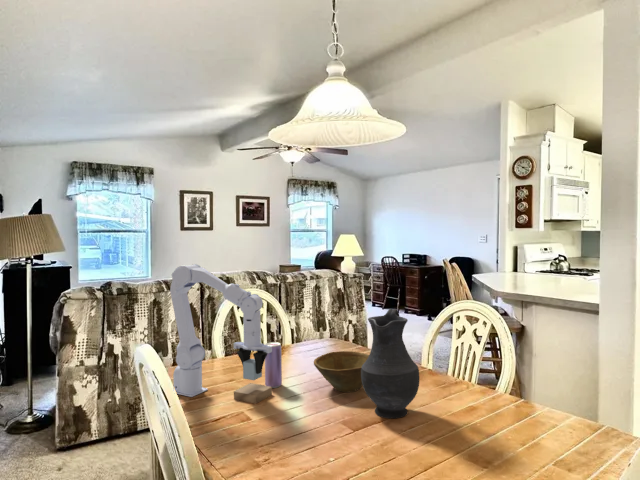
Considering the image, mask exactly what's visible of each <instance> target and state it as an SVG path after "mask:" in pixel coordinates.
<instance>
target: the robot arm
mask: <svg viewBox="0 0 640 480" xmlns="http://www.w3.org/2000/svg"><path fill="white" fill-rule="evenodd" d="M171 278H172V279H171V280H172V281H171V284H170V289H169V292H170V299H171V302H172V307H173V313H174V318H175V322H176V323H175V324H176V328H177V332H178V333H177V334H178V338H179V342H178V344H177V346H176V348H175V349H176V356H175V362H176V364H177V366H176V367H175V368H174V371H173V376H172V377H173V380H172V381H173V388H174V387H175V390H176V392H177V394H176V395H180V396H181V395H182V396H184V397H189V398H192V397H196V396H197V395H200V394H202V393H203V392H206V391H208V390H209V389H208V388H207V387H203V360H204V359H205V356H206V350H205V348H204V347H203V345H202V343H201V342H202V341H201V339H200V338H199V337H197V336H196V331H195V325H194V320H193V315H192V310H191V305H190V300H189V296H188V293H189V291H190V290H191V289H192V287H193V286H194V285H196V283H197V284H198V283H203V284H204V285H207V286H209V287H211V288H213V289H215V290H217V291H219V292H220V293H222V296H223V298H224V299H225V300H227V301H228V302H230V303H232V304H234V305H235V306H237V307H238V308H240V311H241V312H242V314H243V317H242V318H243V319H242V321H243V326H242V327H243V328H242V329H243V341H236V342H233V349H235V350H237V349H238V351H236V354H237V356H238V357H239V359H240V362H241V364H242V366H243V362H244V361H247V360H249V359H251V355H253V359H255V364H256V374H259V373H261V372H262V373H263V366H264V364H265V358H266V356H267V354H268V353H271V352H272V346H268V345H265V344H266V343H262V331H261V330H262V329H261V328H262V326H261V323H262V322H261V319H262V317H261V309H262V307H263V303H264V301H263V299H262V297H261V296H260V295H259V294H258V293H253V294H252V292H251V291H248V290H245V289H243V288H242V287H240V286H241V285H240V284H238V283H229V284H228V283H227V282H225V281H224V280H222V279H220V278H219V277H218V276H216V275H215V274H213V273H211V272H210V271H208V269H207V268H205V267H203V266H201V265H199V264H197V263H194V264H193V263H192V264H189V265H179V266H177V267H176V268H175V269H174V270H173V272H172V273H171ZM252 351H253V352H254V353H253V354H252Z"/></svg>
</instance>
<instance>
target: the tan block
mask: <svg viewBox="0 0 640 480" xmlns="http://www.w3.org/2000/svg"><path fill="white" fill-rule="evenodd" d="M272 395H273V388H272V387H269V386H266V385H265V384H264V385H263V384H257V383H253V382H252V383H251V382H249V383H248V384H246V385H244V386H242V387H239V388H238V389H236V390H234V391H233V399H234V400H237V401H240V402H241V401H242V402H246V403H251V404H258V403H260V402H262V401H264V400H265V399H266V398H268V397H270V396H272Z"/></svg>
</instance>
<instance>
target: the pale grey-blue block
mask: <svg viewBox="0 0 640 480" xmlns="http://www.w3.org/2000/svg"><path fill="white" fill-rule="evenodd" d="M242 372H243V373H242V379H245V380H249V381H256V380H258V379H260V378H262V377H263V371H262V372H261V373H259V374H256V364H255V359H254V358H250V359H249V360H247V361H244V362H243V365H242Z"/></svg>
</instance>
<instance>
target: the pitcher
mask: <svg viewBox="0 0 640 480" xmlns="http://www.w3.org/2000/svg"><path fill="white" fill-rule="evenodd" d="M367 321H368V322H369V324H370V327H371V330H372V331H371V332H372V344H371V348H370V352H369V354H368V355H369V357H368V359H367V360H366V362H365V363H364V364H363V365H362V367H361V380H362V387H363V390H364V392H365V394H366V395H367V397H368V398H369V399H370V400H371V401H372V402H373V404H375V406H376V407H375V409H374V413H375V415H377V416H378V417H380V418H386V419H399V418H403V417H405V416H407V415H408V409H407V407H408V406H409V405H410V404H411V403H412V401H413V400H414V399H415V398H416V396H417V394H418V391H419V388H420V369H419V367H418V364H416V362H415V361H414V360H413V359H412V358H411V356H410V354H409V352H408V350H407V347H406V344H405V342H404V339H403V334H404V328H405V326H406V324H407V323H408V319H407V318H405V317H403V316H400V313H399V311H398V309H397V308H396V309H395V308H394V309H393V308H389V309H388V310H387V311H386V313H385V314H384V315H376V316H370V317H368V318H367Z"/></svg>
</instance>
